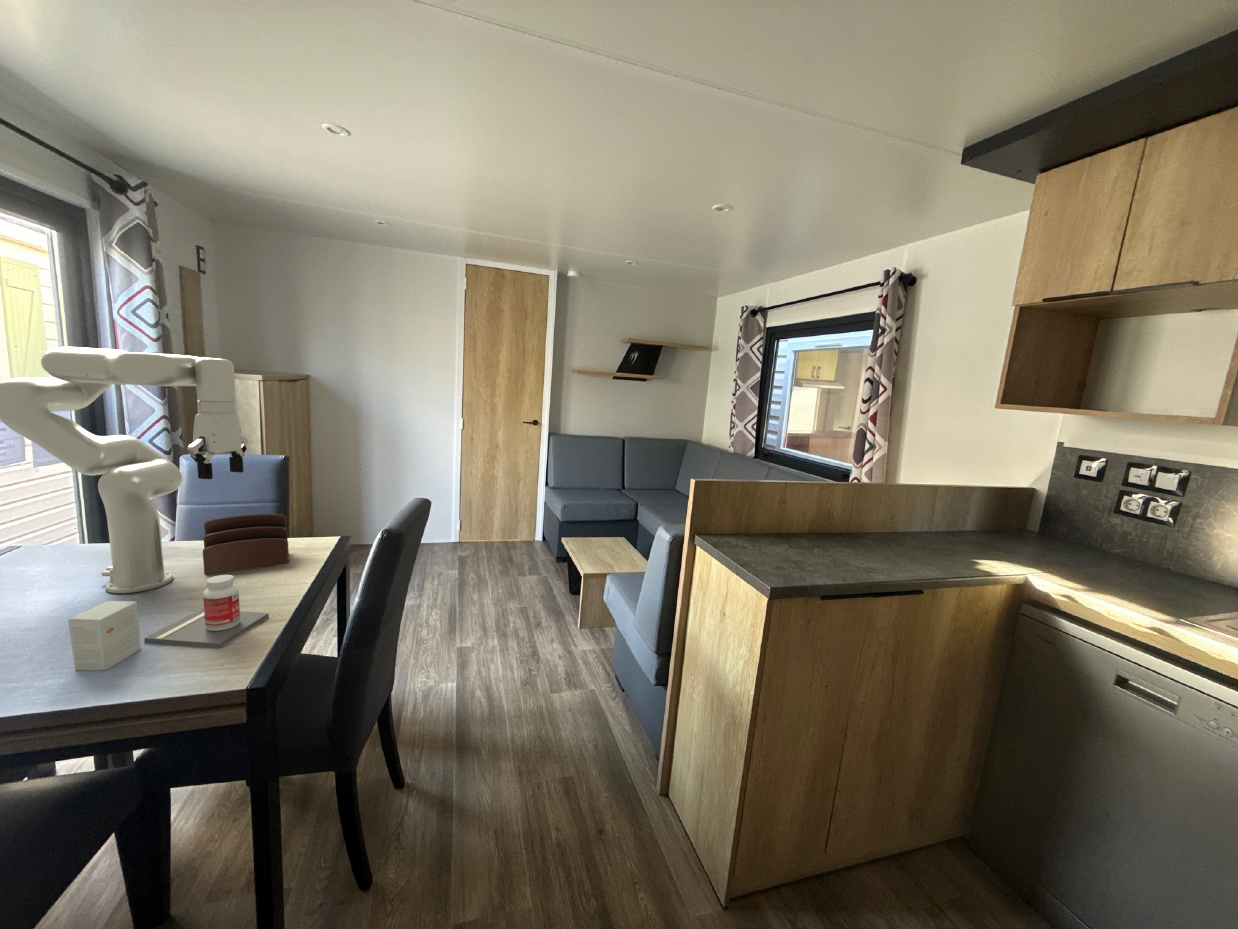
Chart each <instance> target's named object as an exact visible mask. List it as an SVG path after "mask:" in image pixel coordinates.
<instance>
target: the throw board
mask: <svg viewBox="0 0 1238 929" xmlns="http://www.w3.org/2000/svg"><path fill="white" fill-rule="evenodd" d="M269 615H270V614H269V613H268V612H257V611H247V610H246V611H245V610H240V622H239V624H238V625H236V626H235V627H233V628H230V629H226V630H221V631H209V630H207V629H206V627H205V615H204V607H203V608H200V609H198V610H196V611H194V612H192V613H190V614H188V615H186V616H184V617H182V618H181V619H179V620H177V621H175V622H172V623H171V624H169V625H167V626H165V627H163V628H161V629H159V630H157V631H155V632H154V633H152V634H150V635H147V636H146V637H144V638H143V639H144V643H145V644H146V643H147V644H160V645H174V646H175V645H176V646H187V647H202V648H214V649H221V648H222V647H224V646H226V645H227V644H229V643H230V642H231V641H232V642H233V641H234V639H236V638H238V637H239V636H241V635H243V634H244V633H246V632H248V631H249V630H250V629H252V628H254V627H255V626H256V625H259V624H261V623H262V622H263V621H265V620H267V619H268V618H269Z"/></svg>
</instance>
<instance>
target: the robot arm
mask: <svg viewBox="0 0 1238 929" xmlns="http://www.w3.org/2000/svg"><path fill="white" fill-rule="evenodd" d="M40 364H41V367H42V368H43V370H44V371H45V373H47V374H48V375H49V376H51V377H37V376H36V377H33V376H32V377H31V376H30V377H27V376H25V377H15V378H10V379H9V378H8V379H6V380H5V379H4V380H2V381H0V421H1V422H2V423H3V424H4V425H5V426H7V427H8V428H9V429H10V430H12V431H14V432H16V433H17V434H19V435H20V436H22V437H24V438H25V439H27V440H29V441H31V442H32V443H34V444H36V445H37V446H39V447H41V449H43V450H45V451H46V452H48V453H49V454H50V455H52V456H53V457H54V458H56V459H58V460H60V461H61V462H62V463H64V464H65V465H67V466H68V467H70V468H71V469H73V470H74V471H76V472H77V473H80V474H82V475H86V476H100V475H101V476H100V478H99V479H98V482H97V489H98V493H99V496H100V498H101V500H102V503H103V506H104V510H105V515H106V520H107V529H108V536H109V537H108V538H109V546H110V558H111V565H109V566H107V567H106V568H105V570H102V572H101V576H102V577H109V579H110V580H109V581H108V582H106V584H105V590H106V591H107V592H109V593H112V594H132V593H139V592H145V591H150V590H153V589H156V588H160V587H162V586H165V585H166V584H169V583H170V582H172V580H173V579H174V577H173V573H171V571H170V572H169V571H165V567H164V566H165V565H164V553H163V545H162V530H161V519H160V515H159V511H158V510H157V508H156V507H155V506H154V505H153V503H152V502H151V499H154V498H158V497H160V496H165V495H168V494H171V493H173V492H176V490H178V489H179V488H180V487H181V485H182V483H183V476H182V472H181V471H180V469H179V468H178V466H177V465H176V464H175V463H173V462H172V461H171V460H169V459H168V458H167V457H165V456H164V455H162V454H161V453H159V452H158V451H156V450H155V449H154V448H153V447H151V446H150V445H148V444H147V443H145V442H144V441H142V440H141V439H138V438H136V437H133V436H130V435H126V434H113V435H112V434H110V435H96V434H95V433H92V432H90V431H88V430H87V429H86V428H84V427H83V426H82V425H80V424H78V422H75V421H73V420H71V419H69V418H67V417H64V416H61V415H59V414H56V413H54V412H69V411H70V412H71V411H79V410H81V409H85V408H86V407H88V406H89V405H91V404H92V403H93V402H94V401H96V399H97V398H99V397H100V396H101V395H102V394H104V392H105V391H106V390H108V389H109V388H110V387H111V386H112V385H118V386H119V385H120V386H126V385H130V386H131V385H135V386H150V387H195V388H196V400H197V401H196V402H197V413H196V414H195V415H194V416H195V417H194V422H193V429H192V430H193V432H192V434H193V438H192V443H190V444H189V445H188V446H187V447H186V449H187V451H188V453H189V454H190V458H191V459H193V461H194V463H196V467H197V477H198V479H200V480H212V479H213V478H214V473H213V463H211V460H212V458H213V457H214V456H216V455H221V454H229V455H230V456H229V458H228V459H229V461H228V463H229V471H230V473H231V472H232V473H243V472H244V457H245V452H246V451H247V447H248V443H249V439H248V438H246V437H244V436H242V431H241V423H240V420H239V419H240V418H239V416H238V413H237V397H236V383H235V380H236V379H235V366H234V363H233V361H231V360H229V359H226V358H217V357H216V358H215V357H199V356H193V355H182V354H171V353H150V352H133V351H132V352H131V351H130V352H129V351H125V350H124V349H118V348H117V349H115V348H114V349H113V348H99V347H98V348H96V347H94V348H93V347H82V346H81V347H78V346H59V347H55V348H52V349H49V350H47V351H46V352H45V353H44V354H42V357H41V359H40Z"/></svg>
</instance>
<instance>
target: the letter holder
mask: <svg viewBox="0 0 1238 929" xmlns="http://www.w3.org/2000/svg"><path fill="white" fill-rule="evenodd" d="M203 526H204V537H203V547H204V548H203V550H202V559H203V571H204V572H203V573H204V575H206V576H207V575H211V574H212V575H213V574H220V573H221V574H222V573H227V572H236V571H242V570H249V569H257V568H264V567H265V568H267V567H273V566H274V567H275V566H280V565H281V566H282V565H288V564H290V556H289V555H290V553H289V551H290V550H289V541H288V529H287V517H286V515H284V514H280V513H279V514H278V513H258V514H254V513H253V514H244V515H243V514H242V515H232V516H226V517H221V518H216V519H215V518H214V519H210V520H207V521H205V523H204V524H203Z"/></svg>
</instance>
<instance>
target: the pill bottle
mask: <svg viewBox="0 0 1238 929" xmlns="http://www.w3.org/2000/svg"><path fill="white" fill-rule="evenodd" d="M234 578H235V577H234V575H231V574H221V575H215V576H212V577H209V578H207V579H206V580H205V582H206V589H205V590H204V592H203V594H202V600H203V601H202V602H203V608H204V615H205V627H206V629H207V630H209V631H221V630H226V629H230V628H233V627H235V626H236V625H238V624H239V622H240V611H241V607H240V606H241V605H240V592H239V591H240V590H239V587H238V585H236V584H235V579H234Z"/></svg>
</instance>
